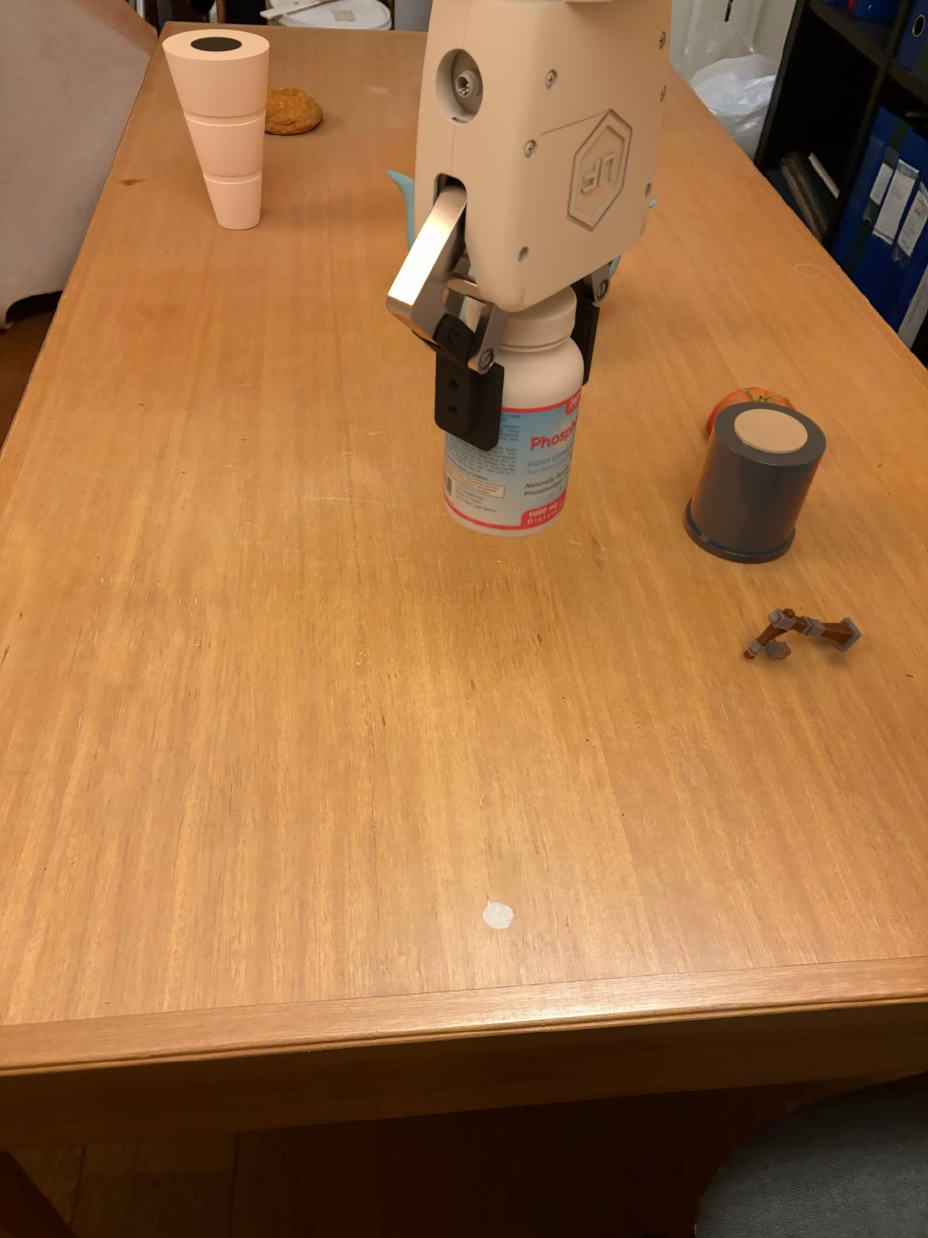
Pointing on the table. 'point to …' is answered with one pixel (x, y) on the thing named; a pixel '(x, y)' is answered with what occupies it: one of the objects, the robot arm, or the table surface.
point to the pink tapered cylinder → (224, 114)
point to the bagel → (290, 111)
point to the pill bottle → (522, 427)
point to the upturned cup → (753, 481)
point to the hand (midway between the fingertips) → (513, 401)
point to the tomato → (746, 396)
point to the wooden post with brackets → (786, 621)
